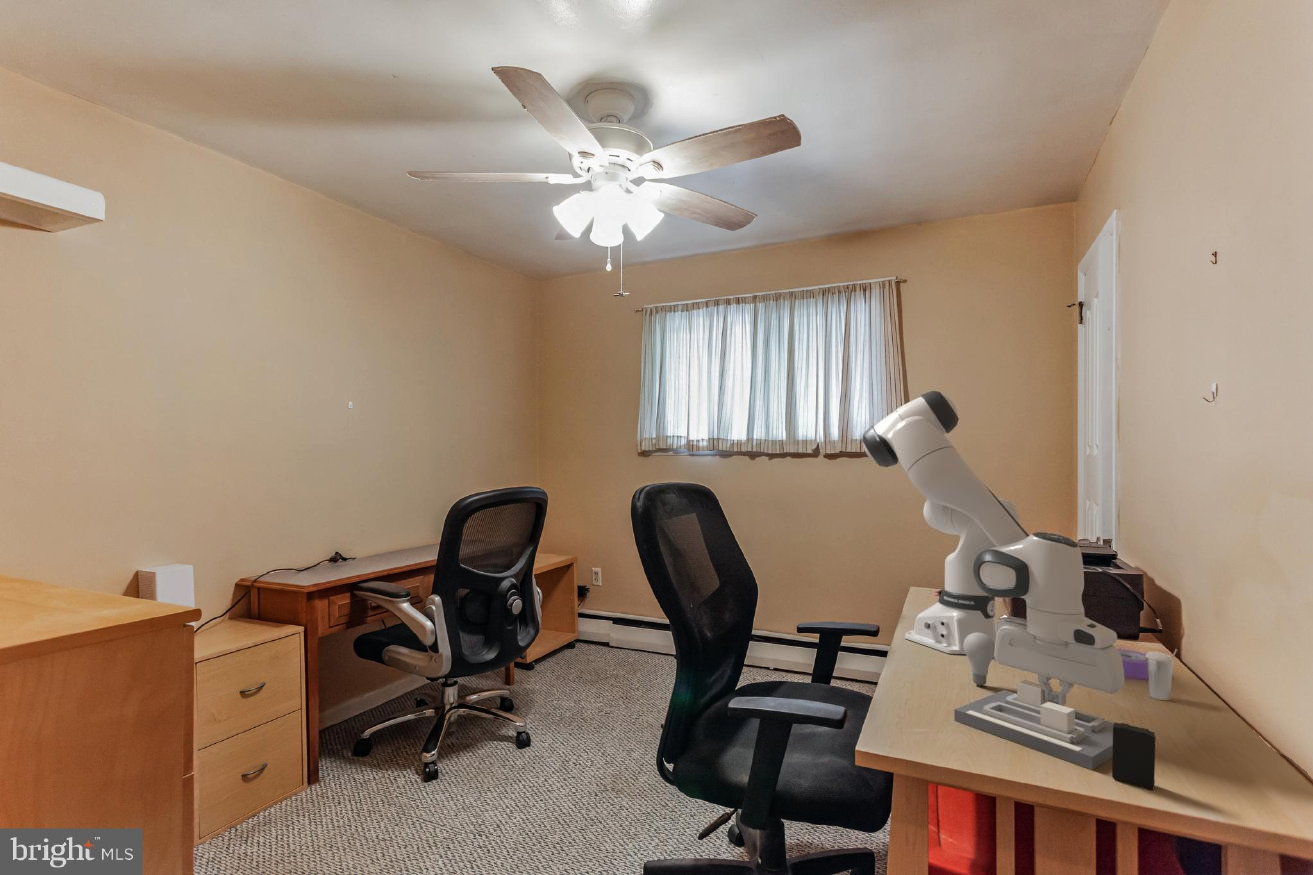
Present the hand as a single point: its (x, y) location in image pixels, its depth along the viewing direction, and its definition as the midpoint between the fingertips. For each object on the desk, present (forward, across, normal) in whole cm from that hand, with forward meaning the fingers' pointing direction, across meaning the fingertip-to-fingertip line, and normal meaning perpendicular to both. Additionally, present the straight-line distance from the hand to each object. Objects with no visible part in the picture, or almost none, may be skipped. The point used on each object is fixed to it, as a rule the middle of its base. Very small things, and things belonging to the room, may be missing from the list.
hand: (1055, 702), depth 114 cm
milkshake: (+4, +6, +34) cm, 34 cm away
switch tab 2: (+2, +4, -8) cm, 9 cm away
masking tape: (+5, -5, +48) cm, 48 cm away
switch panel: (+4, 0, -4) cm, 6 cm away
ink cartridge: (+4, +16, -12) cm, 20 cm away
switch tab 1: (+2, -4, 0) cm, 4 cm away
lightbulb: (+4, -18, +9) cm, 21 cm away
